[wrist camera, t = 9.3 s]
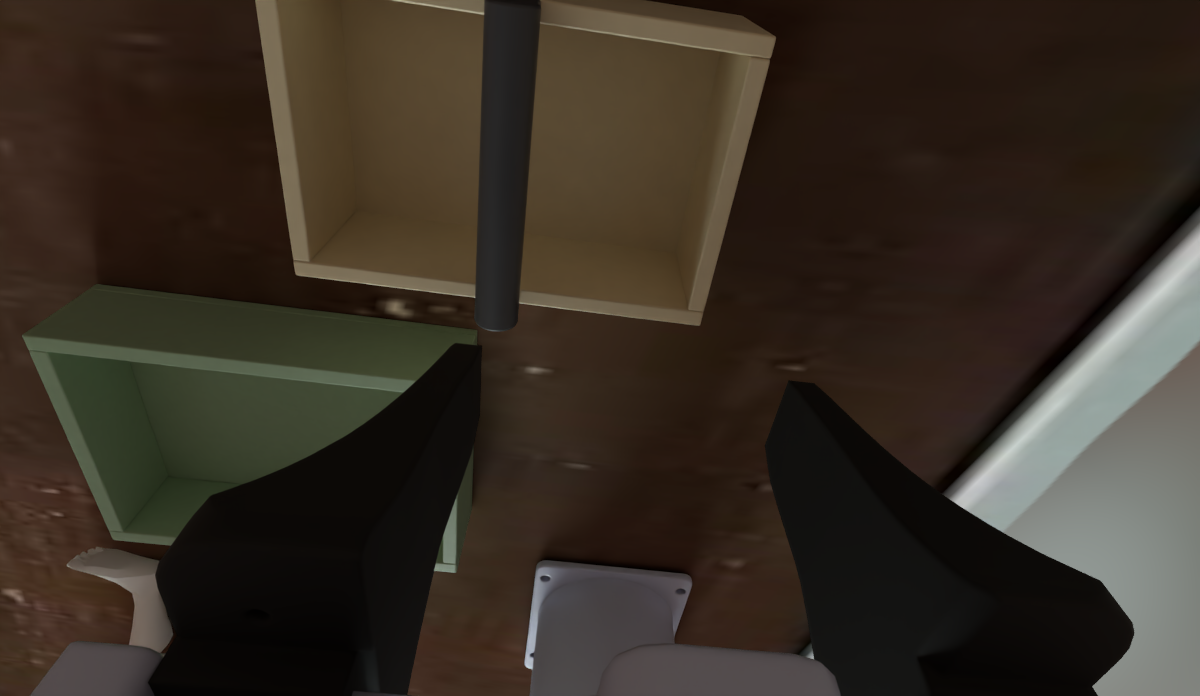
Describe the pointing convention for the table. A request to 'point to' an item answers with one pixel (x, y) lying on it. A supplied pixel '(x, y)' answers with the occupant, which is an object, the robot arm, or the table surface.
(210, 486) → the sage bin
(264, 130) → the table surface
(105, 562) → the person figurine
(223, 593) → the robot arm
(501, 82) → the cream bin
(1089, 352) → the table surface
